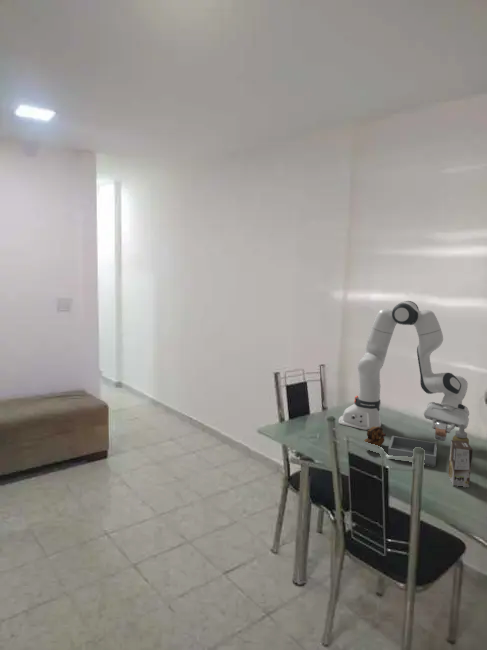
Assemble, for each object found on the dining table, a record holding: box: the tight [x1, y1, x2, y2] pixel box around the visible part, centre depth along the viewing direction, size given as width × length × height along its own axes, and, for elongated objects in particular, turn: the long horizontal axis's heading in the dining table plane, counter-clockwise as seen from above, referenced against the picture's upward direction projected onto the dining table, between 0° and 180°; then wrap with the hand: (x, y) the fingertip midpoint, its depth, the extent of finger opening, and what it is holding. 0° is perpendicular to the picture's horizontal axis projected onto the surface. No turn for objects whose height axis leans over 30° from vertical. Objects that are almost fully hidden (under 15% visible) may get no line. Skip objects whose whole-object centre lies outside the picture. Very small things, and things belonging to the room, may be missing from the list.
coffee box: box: [447, 439, 474, 488], centre depth 191 cm, size 9×6×16 cm
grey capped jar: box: [434, 421, 449, 442], centre depth 226 cm, size 5×5×8 cm
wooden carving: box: [363, 426, 387, 447], centre depth 223 cm, size 16×5×10 cm, turn 138°
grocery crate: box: [387, 435, 438, 468], centre depth 215 cm, size 20×16×5 cm
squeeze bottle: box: [449, 424, 470, 456], centre depth 207 cm, size 8×8×18 cm
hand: (440, 430), depth 226 cm, fingers closed on grey capped jar, 5 cm apart
